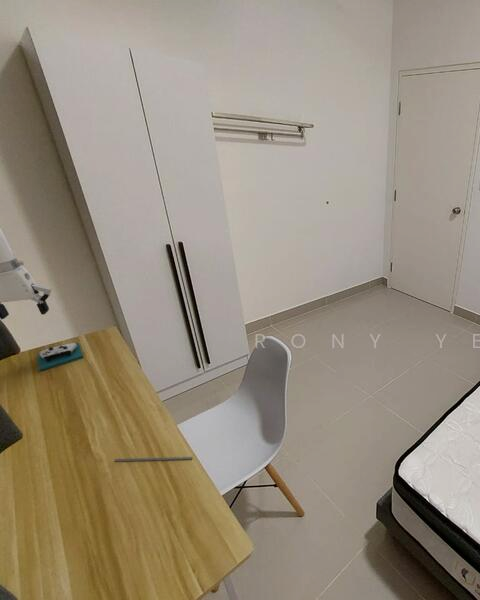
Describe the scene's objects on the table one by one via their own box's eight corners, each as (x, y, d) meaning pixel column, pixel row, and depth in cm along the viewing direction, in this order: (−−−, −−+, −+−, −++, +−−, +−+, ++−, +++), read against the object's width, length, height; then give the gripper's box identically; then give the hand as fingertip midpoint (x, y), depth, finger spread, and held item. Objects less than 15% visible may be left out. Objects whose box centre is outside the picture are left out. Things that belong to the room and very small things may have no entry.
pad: (40, 371, 111) (39, 369, 110) (38, 356, 117) (37, 354, 117) (83, 357, 118) (82, 355, 118) (79, 344, 125) (78, 342, 124)
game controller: (76, 343, 122) (71, 339, 117) (80, 356, 121) (76, 352, 117) (40, 352, 116) (33, 348, 112) (44, 366, 116) (37, 363, 111)
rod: (192, 460, 86) (191, 458, 85) (114, 462, 84) (113, 460, 84) (193, 458, 86) (192, 456, 86) (116, 460, 85) (115, 458, 84)
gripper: (43, 259, 105) (64, 305, 113) (-33, 264, 99) (-5, 313, 106) (32, 267, 99) (55, 316, 107) (-50, 273, 93) (-19, 324, 100)
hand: (25, 314), depth 107 cm, fingers open, 9 cm apart
